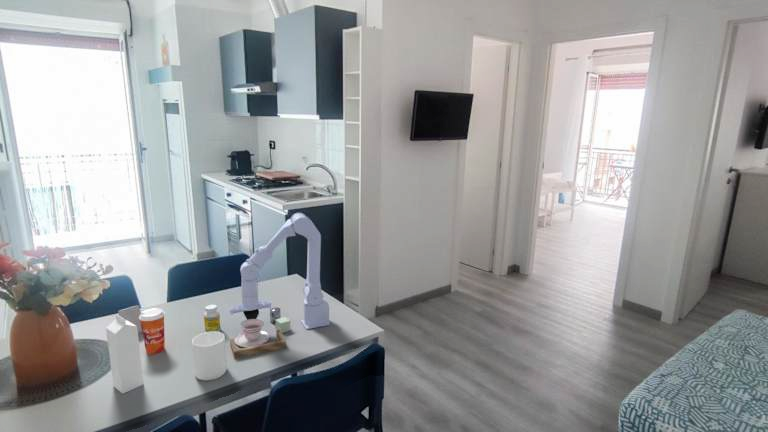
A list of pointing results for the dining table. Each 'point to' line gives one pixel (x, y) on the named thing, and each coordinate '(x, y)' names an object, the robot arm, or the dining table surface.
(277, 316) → the grey canister
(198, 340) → the mug
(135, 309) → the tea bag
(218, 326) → the supplement bottle
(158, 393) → the dining table surface
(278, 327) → the sage block
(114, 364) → the milk
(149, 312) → the paper cup
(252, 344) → the teacup
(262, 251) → the robot arm
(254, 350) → the wooden cradle
